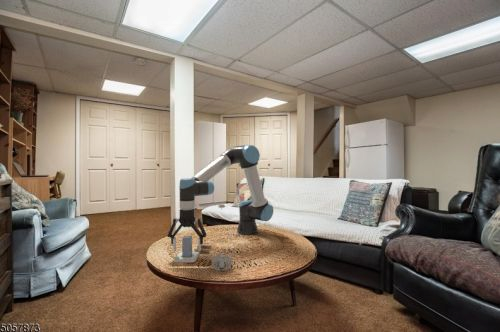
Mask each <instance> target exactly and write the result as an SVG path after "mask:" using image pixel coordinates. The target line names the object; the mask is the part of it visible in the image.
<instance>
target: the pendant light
mask: <svg viewBox="0 0 500 332" xmlns="http://www.w3.org/2000/svg"><path fill="white" fill-rule="evenodd" d="M217 207H218V208H220V209H223V208H226V205H225V204H218V205H217ZM232 262H233V261H232V258H231V257H230V256H229V255H228V254H225V253H224V254H223V253H221V254H217V255H215V256H214V257H213V258H212V259H211V266H212V268H213V269H214V270H216V271H218V272H221V271H227V270H229V269H230V267H232Z"/></svg>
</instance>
